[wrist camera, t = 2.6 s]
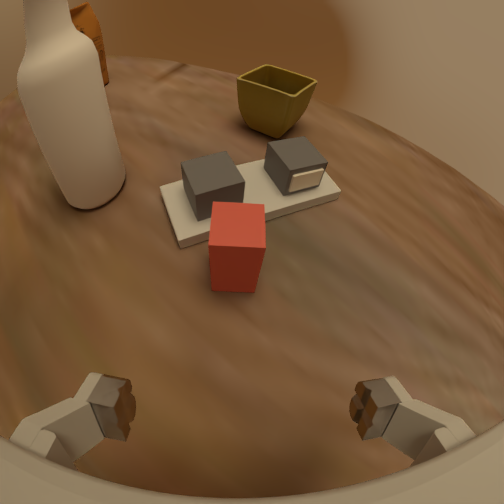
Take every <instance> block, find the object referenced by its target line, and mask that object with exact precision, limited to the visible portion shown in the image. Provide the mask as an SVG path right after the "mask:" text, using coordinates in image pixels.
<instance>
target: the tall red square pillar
mask: <svg viewBox="0 0 504 504" xmlns="http://www.w3.org/2000/svg"><path fill="white" fill-rule="evenodd" d="M208 246H209V260H210V274H211V286H212V291H227V292H251V293H254V292H255V288H256V284H257V281H258V277H259V273H260V269H261V265H262V261H263V257H264V253H265V250H266V235H265V207H264V204H252V203H234V202H213V205H212V215H211V224H210V234H209V244H208Z"/></svg>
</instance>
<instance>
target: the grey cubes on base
mask: <svg viewBox="0 0 504 504" xmlns="http://www.w3.org/2000/svg"><path fill="white" fill-rule="evenodd" d="M327 164H328V162H327V160H326V159H325V158H324V157H323V156H322V155H321V154H320V153H319V152H318V150H317V149H316V148H315V147H314V146H313V145H312V144H311V143H310V142H309V141H308V140H307V138H306V137H305V136H303V137H296V138H290V139H284V140H278V141H273V142H268V144H267V150H266V156H265V159H263V160H258V161H254V162H249V163H245V164H241V165H237V166H235V164H234V162H233V161H232V159H231V158H230V156H229V155H228V153H227V151H224V152H220V153H215V154H211V155H207V156H203V157H199V158H195V159H191V160H188V161H184V162H181V169H182V178H183V180H180V181H177V182H173V183H170V184H167V185H163V186H160V190H161V195H162V198H163V201H164V204H165V207H166V210H167V213H168V216H169V218H170V221H171V224H172V227H173V230H174V233H175V235H176V238H177V241H178V244H179V246H180V249H182V248H185V247H188V246H191V245H194V244H197V243H200V242H203V241H206V240H209V234H210V224H211V215H212V205H213V202H234V203H252V204H264V207H265V221H267V220H271V219H274V218H277V217H280V216H283V215H286V214H290V213H293V212H296V211H299V210H303V209H306V208H309V207H312V206H316V205H319V204H322V203H326V202H329V201H332V200H336V199H338V197H339V195H340V193H341V190H340V189H339V188H338V186H337V185H336V184H335V183H334V181H333V180H332V179H331V178H330V177H329V175H328V174H327V173H326V172H325V169H326V166H327Z"/></svg>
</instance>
